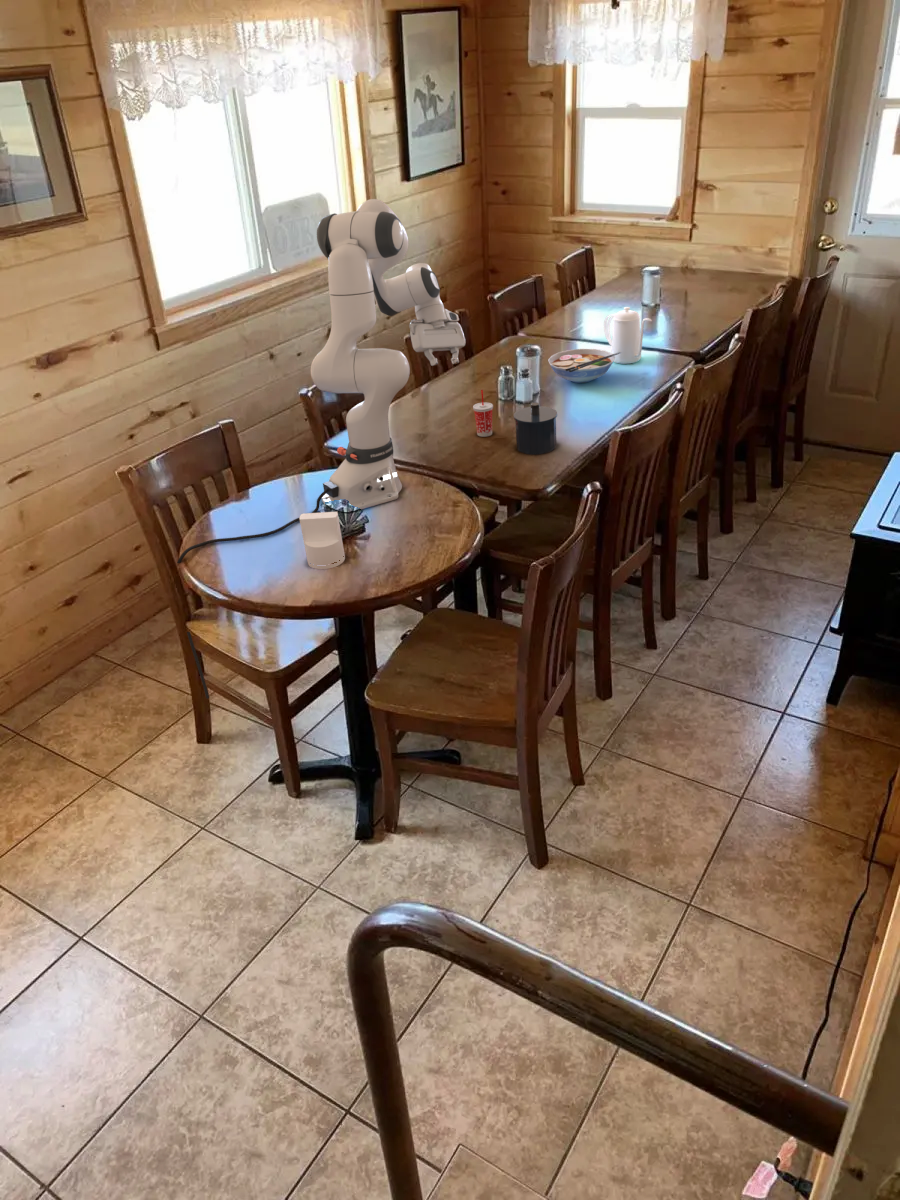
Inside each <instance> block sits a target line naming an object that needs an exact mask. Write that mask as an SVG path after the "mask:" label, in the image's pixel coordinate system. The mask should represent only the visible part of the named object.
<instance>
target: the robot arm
mask: <svg viewBox="0 0 900 1200" xmlns="http://www.w3.org/2000/svg"><path fill="white" fill-rule="evenodd" d="M316 240H317V245H318V247H319V250H320V252H321V253H322V255H323V256H324V257H325V258H326V259H327V260H328V266H327V267H328V269H327V270H328V271H327V274H328V275H327V276H328V278H327V280H328V292H329V293H328V294H329V295H328V296H329V302H330V317H331V320H330V321H331V326H330V332H329V337H328V339H327V341H326V343H325V345H324V346H323V348H322V349H321V350H320V351H319V352H318V353H317V354H316V355H315V356H314V358H313V360H312V361H311V364H310V377H311V380H312V382H313V384H314V385H315V387H316V388H317V389H318V390H319V391H321V392H322V391H323V392H327V393H333V394H363V399H364V400H363V401H361V402H359V403H357V404H356V405H354V406H353V407H351V409H349V410H348V412H347V414H346V415H345V416H346V418H345V423H346V430H347V437H348V444H347V448H345V447H343V446H339V447H338V448H337V449H336V450H337V451H336V452H337V454H338V455H340V456H342V457H343V456H345V459H344V460H343V461H342V462H341V463H340V464H339V466H338V467H337V468H336V469H335V471H334V472H333V473H331V475H330V477H329V479H328V481H325V482H323V483H322V487H323V488H322V489H323V491H322V493H320V494H319V495H318V497H317V499H316V507H315V509H314V510H313V511H312V512H311V513H318V511H319V509H320V506H321V505H320V504H321V502H322V503H323V505H325V502H329V501H334V500H340V499H346V500H348V501H349V503H350V504H351V505H353V506H355V507H358V508H360V509H361V510H364V509H367V508H371V507H374V506H378V505H381V504H385V503H388V502H392V501H395V500H397V499H399V493H400V492H401V491H402V489H403V484H402V482H401V480H400V478H399V477H400V476H399V474H398V472H397V468H396V464H395V460H394V444H393V439H392V437H391V435H390V423H389V422H390V421H389V413H390V406H391V404H392V401H393V399H394V398H395V397H396V395H397V394H398V393H399V391H401V390H402V389H403V388H404V387H405V386H406V385H407V383H408V381H409V378H410V373H411V367H410V362H409V361H408V359H407V357H406V355H405V354H404V353H403V352H402V351H400V350H397V349H392V348H385V347H377V348H376V347H374V348H358V346H357V342H358V339H359V338H361V337H362V336H364V335H365V334H367V333H368V332H370V331H371V330H373V328H374V326H375V325H376V323H377V310H376V306H377V308H378V309H379V312H380V313H382V314H384V315H386V316H389V317H393V316H395V315H397V314H399V313H401V312H404V311H407V310H409V309H412V308H414V314H415V318H416V319H412V320H411V321H410V322H409V325H408V327H409V330H410V331H409V334H410V335H409V336H410V340H411V346H412V348H413V350H414V351H415V352H416V353H423V354H424V356H425V357H426V359H427V360H428V361H429V364H430V366H432V367H433V366H437V365H438V364H439V362H438V358H437V357H435V356H434V355H433V352H440V351H441V352H442V351H443V352H444V351H450V354H452V356H451V358H450V361H451V364H452V365H457V364H459V363H460V360H459V359H460V358H459V352H460V349H462V348H464V347H465V346H466V337H465V334H464V331H463V328H462V325H461V324H460V323H459V322H458V321H460V318H459V315H458V314H457V313H455V312H452V311H450V310H448V309H447V308H445V306H444V303H443V302H442V300H441V297H440V295H441V294H440V292H441V287H440V284H439V280H438V278H437V275H436V274H435V272H434V271H433V270H432V269H431V266H430V265H429V264H428V263H425V262H417V263H413V264H412V265H410V266H409V267H408V268H407V269H406V271H405V272H404V273H402V274H399V275H396V276H393V277H390V278H385V277H384V274H385V273H386V272H387V271H389V270H390V269H391V268H393V267H395V266H396V265H399V263H400V262H401V261H402V260H403V259H404V258H405V257H406V254H407V252H408V248H409V245H410V243H409V237H408V234H407V230H406V229H405V227H404V225H403V223H402V221H401V220H400V218H399V217H398V216H397V214H396V213H395V212H394V210H393V209H392V208H391V207H390V206H389V205H388V204H387V203H386V202H384V201H383V200H381V199H377V198H370V199H367V200H365V201H363V202H362V203H361V204H360V205H359V206H358V207H357V209H356V211H346V212H342V213H335V212H334V213H331V214H327V215H325V216H323V217H322V218H321V219H320V221H319V223H318V225H317V227H316ZM299 518H300V517H297V518H295V519H293V520H291V521H289V522H287V523H286V524H284V525H282V526H280V527H278V528H276V529H273V530H270V531H267V532H263V533H257V534H250V535H242V536H234V537H223V538H213V539H210V540H209V539H208V540H206V541H203V542H200V543H196V544H193V545H191V546H189V547H187V548H186V549H185V550H184V551H183V552H182V553H181V555H180V556H179V558H178V559H177V561H176V562H177V564H180V563H182V561H183V559H184V558H185V556H186V555H187V554H188V553H189V552H191V551H192V550H195V549H197V548H200V547H201V548H202V547H203V546H207V545H210V544H214V543H220V542H221V543H222V542H233V541H241V540H248V539H255V538H256V539H258V538H263V537H267V536H271V535H274V534H277V533H279V532H281V531H283V530H285V529H287V528H288V527H290V526H292V525H293V524H295V523H298V522H300V519H299ZM186 634H187V638H188V642H189V644H190V648H191V651H192V654H193V657H194V661H195V664H196V667H197V671H198V673H199V678H200V680H201V684H202V688H203V690H204V694H205V699H207V700H208V699H210V695H209V690H208V687H207V683H206V680H205V677H204V673H203V669H202V667H201V664H200V660H199V657H198V654H197V651H196V648H195V644H194V641H193V638H192V635H191V631H186Z"/></svg>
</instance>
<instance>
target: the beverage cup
mask: <svg viewBox="0 0 900 1200" xmlns="http://www.w3.org/2000/svg"><path fill="white" fill-rule="evenodd" d="M480 391H481V392H480V393H481V402H478V403H475V404H473V406H472V408H473V409H472V410H473V414H474V419H475V427H476V435H477V436H479V437H483V438H485V437H490V436H492V435H493V409H494V404H493V403H491V402H486V401H485V402H484V389H481V390H480Z"/></svg>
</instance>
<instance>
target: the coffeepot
mask: <svg viewBox="0 0 900 1200" xmlns="http://www.w3.org/2000/svg"><path fill="white" fill-rule="evenodd" d="M612 319H613V324H612V335H611V332H610V328H611V327H610V326H611V321H612ZM640 320H641V316H640V314H639V312H637V311H636V310H631V307H630V306H625V307H623V310H619V311H617V312H616V313H612V314H609V315H608V314H607V316H606V317H605V318H604V321H603V332H604V336H605V339H606V341H607V343H608V344H609V345H610V347H611V348H610V353H612V354H616V353H619V352H620V354H617V355H615V359H614V362H613V363H616V364H620V365H621V364H622V365H628V364H635V363H637V362H639V361H640V360H641V358H642V350H643V341H644V340H643V338H644V328H645V327H644V326H645V322H653V320H652V318H649V317H645V318H643V319H642V321H641V322H640ZM640 323H641V324H640Z"/></svg>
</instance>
